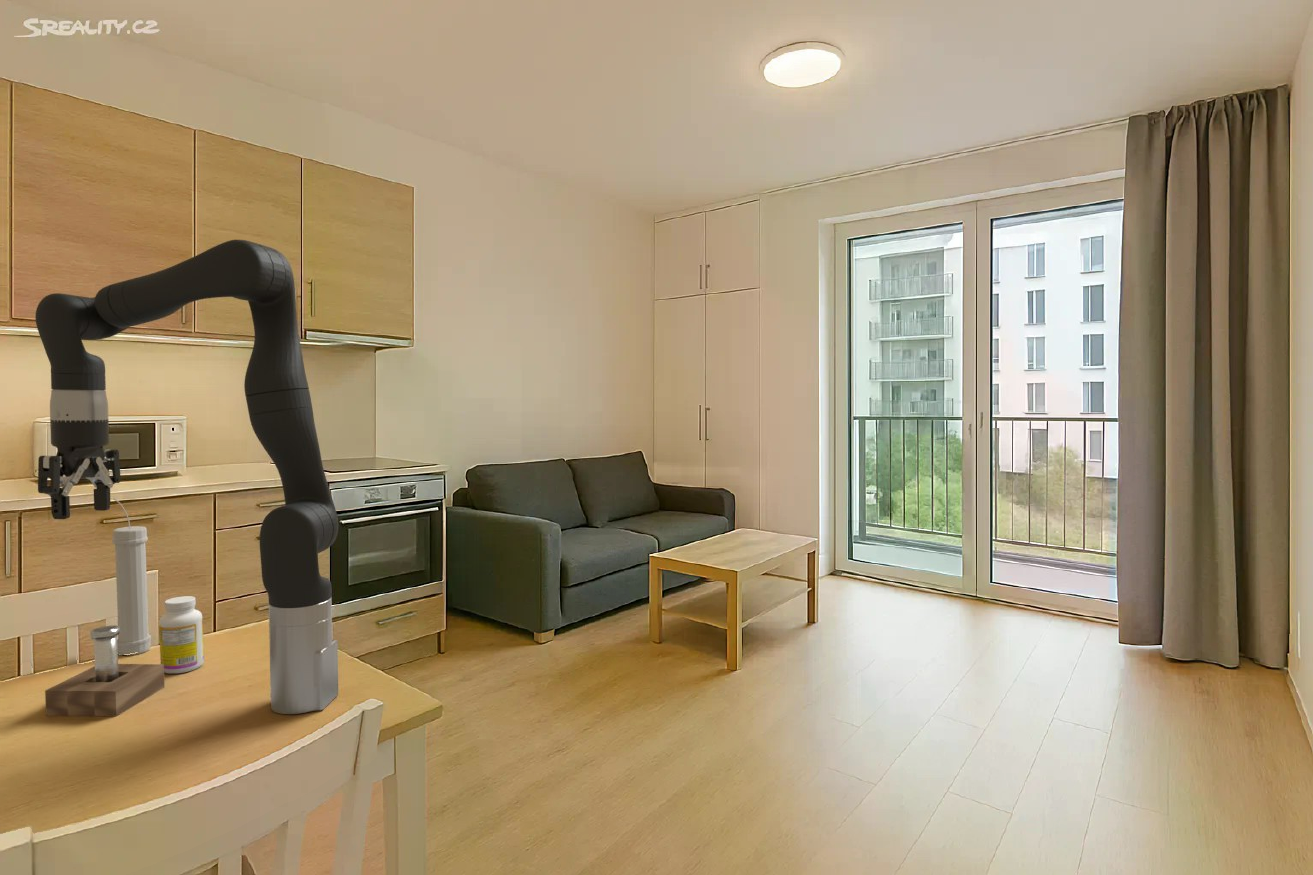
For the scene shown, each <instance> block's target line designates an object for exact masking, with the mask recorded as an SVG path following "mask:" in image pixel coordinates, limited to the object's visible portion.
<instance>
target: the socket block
mask: <svg viewBox="0 0 1313 875" xmlns="http://www.w3.org/2000/svg"><path fill="white" fill-rule="evenodd" d="M118 675H119V678H117V679H115V680H114V681H112V682H96V680H95V665H94V666H92V667H90V668H88V669H86V670H84V671H82V672H80V673H78V674H76V675H74V676H71V677H69V678H68V679H66V680H64V681H62V682H60V683H58V684H55V685H53V686H51V687H49V688H48V689H45V690H44V693H45V694H44V695H45V714H46V716H56V717H57V716H63V717H64V716H66V717H67V716H68V717H71V716H73V717H74V716H75V717H76V716H77V717H78V716H79V717H80V716H82V717H118V716H119V715H120V714H122V713H124V712H126V711H128V710H130V709H131V708H133V707H134V706H135V705H138V704H139V703H141V702H143V701H144V700H145V699H147V698H149V697H151V696H152V695H154V694H155V693H157V692H159V691H160V690H162V689H164V688H165V673H164V664H161V663H160V664H158V663H157V664H156V663H155V664H154V663H153V664H152V663H151V664H150V663H149V664H148V663H147V664H144V663H142V664H141V663H139V664H138V663H118Z"/></svg>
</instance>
